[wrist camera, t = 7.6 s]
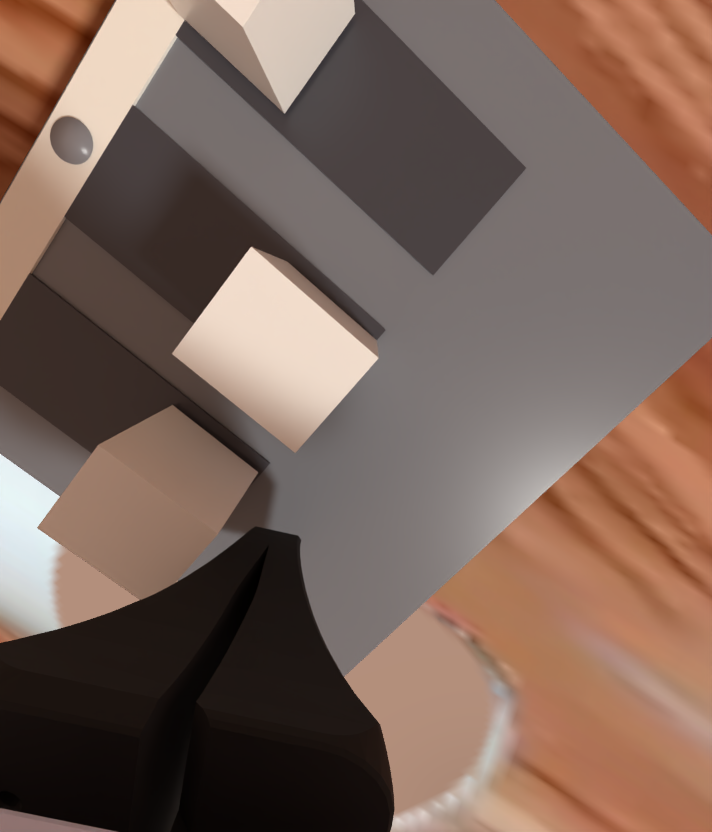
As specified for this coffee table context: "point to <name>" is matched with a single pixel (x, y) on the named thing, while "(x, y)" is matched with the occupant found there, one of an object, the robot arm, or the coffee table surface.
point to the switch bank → (349, 281)
